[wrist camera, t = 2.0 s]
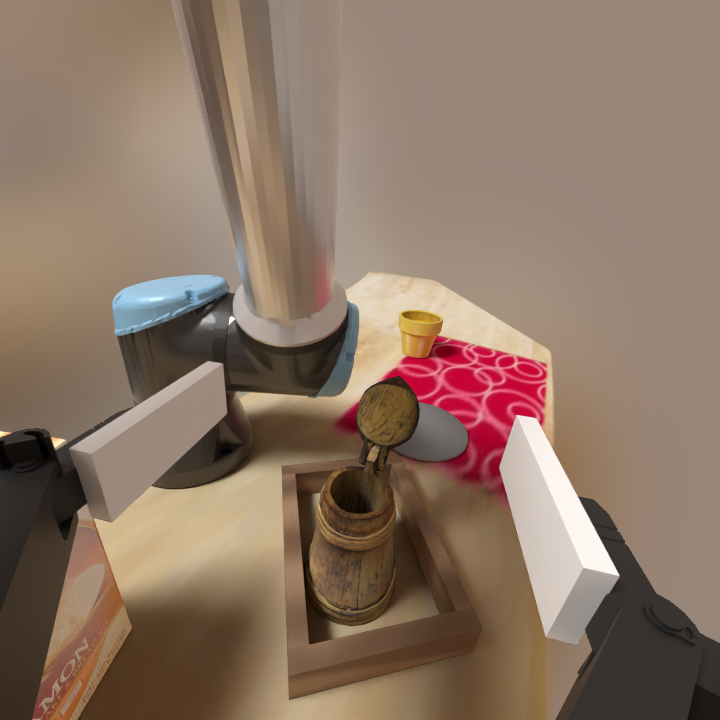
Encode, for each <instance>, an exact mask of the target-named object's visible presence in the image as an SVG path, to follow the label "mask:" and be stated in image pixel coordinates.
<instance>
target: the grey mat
mask: <svg viewBox="0 0 720 720" xmlns="http://www.w3.org/2000/svg"><path fill="white" fill-rule="evenodd" d="M419 408H420V416H419V422H418V425H417V428H416V430H415V432H414V434H413V435H412V437H411V439H410V440H408V441H407V442H405V443H404V444H402V445H401V446H398V447H395V448H392V450H394V451H395V452H397V453H399V454H401V455H403V456H406V457H408V458H412V459H415V460H419V461H426V462H442V461H448V460H451V459H454V458H456V457H458V456H459V455H461V454H462V453H463V452H464V450H465V449H466V446H467V443H468V434H467V431H466V429H465V427H464V426H463V424H462V423H461V422H460V421H459V420H458V419H457V418H456V417H454V416H453V415H452V414H450V413H448V412H447V411H445V410H443V409H441V408H438V407H436V406H433V405H429V404H425V403H419Z"/></svg>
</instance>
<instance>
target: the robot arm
mask: <svg viewBox="0 0 720 720" xmlns="http://www.w3.org/2000/svg"><path fill="white" fill-rule="evenodd" d="M171 3H172V7H173V11H174V15H175V19H176V23H177V27H178V30H179V35H180V38H181V42H182V46H183V50H184V54H185V58H186V62H187V66H188V70H189V74H190V78H191V82H192V85H193V90H194V94H195V98H196V102H197V106H198V110H199V114H200V118H201V121H202V125H203V130H204V133H205V137H206V141H207V145H208V149H209V153H210V157H211V161H212V165H213V169H214V173H215V177H216V181H217V185H218V189H219V193H220V196H221V201H222V205H223V209H224V212H225V217H226V221H227V224H228V228H229V232H230V236H231V240H232V244H233V248H234V252H235V256H236V260H237V264H238V268H239V272H240V276H241V280H242V284H241V286H240V287H239V288H238V290H237V292H236V294H235V293H229V292H228V291H229V285H228V284H227V282H226V280H225V279H224V278H222V277H216V276H213V275H190V276H178V277H170V278H163V279H157V280H152V281H147V282H143V283H140V284H136V285H133V286H130V287H128V288H126V289H124V290H122V291H120V292H119V293H118V294H117V295H116V296H115V298H114V300H113V304H112V307H113V315H114V322H115V335H116V336H117V337H118V341H119V345H120V349H121V353H122V357H123V361H124V365H125V369H126V373H127V377H128V381H129V385H130V389H131V393H132V397H133V401H134V405H135V407H132V408H129V409H126V410H124V411H121V412H118V413H116V414H114V415H113V416H111V417H109V418H108V419H106V420H105V421H104V422H101V423H100V424H98V425H96V426H95V427H94V428H93V429H90V430H88V431H87V432H85V433H83V434H82V435H80V436H79V437H77V438H75V439H73V440H72V441H71V442H69V443H67V444H65V445H64V446H62V447H60V448H59V449H57V450H55V448H54V445H53V442H52V439H51V436H50V433H49V432H48V431H46V430H45V429H38V428H35V429H25V430H21V431H17V432H13V433H10V434H8V435H5V436H2V437H1V438H0V720H32V718H33V714H34V709H35V705H36V701H37V697H38V692H39V688H40V684H41V679H42V675H43V671H44V667H45V662H46V658H47V654H48V649H49V645H50V641H51V637H52V632H53V628H54V624H55V620H56V615H57V611H58V607H59V602H60V598H61V594H62V590H63V585H64V581H65V577H66V572H67V568H68V564H69V560H70V555H71V551H72V547H73V543H74V538H75V534H76V530H77V525H78V521H79V519H78V514H77V511H78V510H79V509H81V508H82V507H83V506H84V505H86V504H87V506H88V509H89V512H90V515H91V517H92V518H96V519H100V520H103V521H107V522H111V523H112V522H113V521H114V520H115V519H116V518H117V517H118V516H119V515H120V514H121V513H123V512H124V511H125V510H126V509H127V508H128V507H129V506H130V505H131V504H132V503H133V502H134V501H135V500H136V499H137V498H138V497H139V496H141V495H142V494H143V493H144V492H145V491H146V490H147V489H148V488H149V487H150V486H151V485H153V486H157V487H163V488H185V487H191V486H196V485H200V484H204V483H207V482H210V481H212V480H215V479H217V478H219V477H221V476H223V475H225V474H227V473H229V472H230V471H232V470H233V469H234V468H236V467H237V466H238V465H239V464H240V463H241V462H242V461H243V460H244V459H245V458H246V457H247V455H248V454H249V452H250V450H251V447H252V443H253V436H252V426H251V422H250V420H249V418H248V416H247V414H246V412H245V410H244V408H243V406H242V404H241V402H240V400H239V398H238V396H237V394H236V391H241V392H255V393H271V394H287V395H300V396H308V397H311V398H316V397H318V396H325V397H333V396H337V395H339V394H341V393H342V392H343V391H344V390H345V388H346V387H347V384H348V382H349V379H350V376H351V372H352V368H353V363H354V355H355V351H356V347H357V341H358V332H359V310H358V307H357V306H356V305H355V304H353V303H350V302H348V301H347V297H346V294H345V291H344V289H343V288H342V286H341V285H340V284H339V282H338V281H337V280H335V279H334V260H335V232H336V229H335V228H336V201H337V200H336V199H337V171H338V141H339V109H340V80H341V79H340V78H341V49H342V19H343V0H171ZM499 468H500V472H501V476H502V479H503V483H504V486H505V490H506V494H507V497H508V501H509V505H510V508H511V512H512V516H513V519H514V523H515V527H516V530H517V534H518V537H519V541H520V545H521V548H522V552H523V556H524V559H525V563H526V567H527V570H528V574H529V578H530V581H531V585H532V588H533V592H534V596H535V599H536V603H537V607H538V610H539V614H540V618H541V621H542V625H543V629H544V632H545V636H546V637H548V638H552V639H556V640H559V641H563V642H567V643H571V644H574V645H577V644H578V643H579V641H580V640H581V638H582V636H583V635H584V633H585V632H586V634H587V637H588V639H589V642H590V645H591V647H592V652H591V653H590V654H589V656H588V657H587V659H586V660H585V662H584V663H583V665H582V667H581V668H580V670H579V671H578V674H579V675H578V677H577V679H576V681H575V683H574V685H573V687H572V689H571V691H570V693H569V695H568V697H567V699H566V701H565V703H564V705H563V706H562V708H561V710H560V712H559V715H558V716H557V718H556V720H720V643H718V642H716V641H714V640H712V639H710V638H708V637H706V636H704V635H702V634H701V633H699V631H698V629H697V628H696V626H695V624H693V622H692V621H691V620H690V619H689V618H688V617H687V616H686V614H685V613H684V612H683V611H682V610H680V609H679V608H678V607H676V606H675V605H674V604H673V603H671V602H670V601H669V600H667V599H665V598H663V597H661V596H660V595H658V594H656V592H655V591H654V589H653V587H652V586H651V584H650V582H649V581H648V579H647V577H646V576H645V574H644V572H643V571H642V569H641V568H640V566H639V564H638V562H637V561H636V559H635V557H634V556H633V554H632V552H631V551H630V549H629V547H628V546H627V545H625V541H624V539H623V537H622V536H621V534H620V533H619V532H617V528H616V526H615V524H614V523H613V521H612V519H611V518H610V516H609V514H608V513H607V512H606V511H605V510H604V509H603V508H602V507H601V506H600V505H599V504H597V502H596V501H594V500H593V499H587V498H583V497H578V496H577V494H576V493H575V491H574V489H573V487H572V485H571V483H570V481H569V479H568V477H567V476H566V474H565V472H564V470H563V468H562V466H561V464H560V462H559V460H558V459H557V457H556V455H555V453H554V451H553V449H552V447H551V445H550V443H549V442H548V440H547V438H546V436H545V434H544V432H543V430H542V428H541V426H540V425H539V423H538V421H537V419H536V418H531V417H526V416H520V415H516V418H515V421H514V424H513V427H512V430H511V433H510V436H509V439H508V442H507V445H506V448H505V452H504V455H503V458H502V461H501V464H500V467H499Z"/></svg>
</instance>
